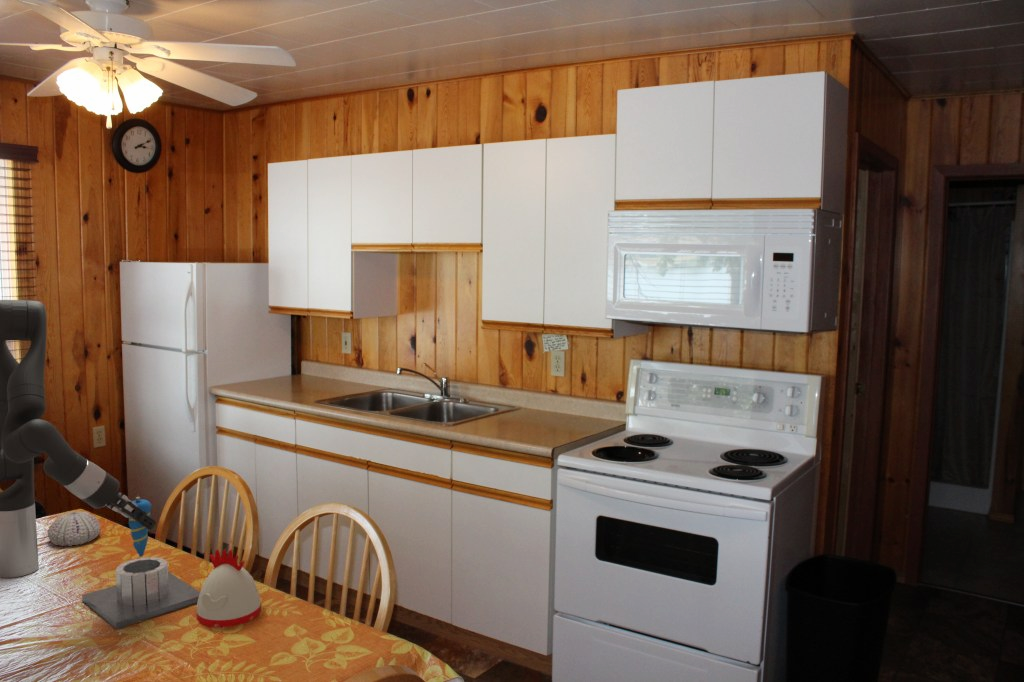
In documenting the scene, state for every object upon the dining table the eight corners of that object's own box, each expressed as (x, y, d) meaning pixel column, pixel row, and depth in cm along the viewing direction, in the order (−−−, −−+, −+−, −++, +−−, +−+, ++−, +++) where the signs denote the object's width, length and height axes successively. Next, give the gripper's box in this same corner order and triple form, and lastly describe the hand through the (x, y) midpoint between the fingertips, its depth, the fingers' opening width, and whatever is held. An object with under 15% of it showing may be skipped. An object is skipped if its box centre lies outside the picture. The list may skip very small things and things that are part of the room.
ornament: (157, 553, 193) (155, 491, 192) (145, 561, 188) (143, 498, 186) (136, 552, 194) (133, 490, 192) (124, 560, 189) (121, 497, 187)
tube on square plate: (82, 601, 192) (80, 566, 191) (166, 576, 206) (165, 543, 205) (116, 629, 178) (114, 592, 177) (204, 600, 193) (203, 566, 192)
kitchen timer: (218, 597, 195) (216, 536, 193) (271, 603, 192) (270, 541, 190) (184, 623, 181) (181, 559, 180) (240, 630, 179) (238, 564, 177)
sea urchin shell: (111, 532, 237) (110, 506, 236) (82, 550, 223) (81, 521, 222) (67, 531, 238) (66, 504, 237) (36, 548, 225) (35, 520, 224)
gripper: (115, 475, 178) (172, 516, 188) (90, 463, 188) (145, 502, 198) (91, 505, 175) (150, 544, 185) (67, 491, 185) (124, 529, 195)
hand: (147, 522), depth 191 cm, fingers closed on ornament, 5 cm apart
